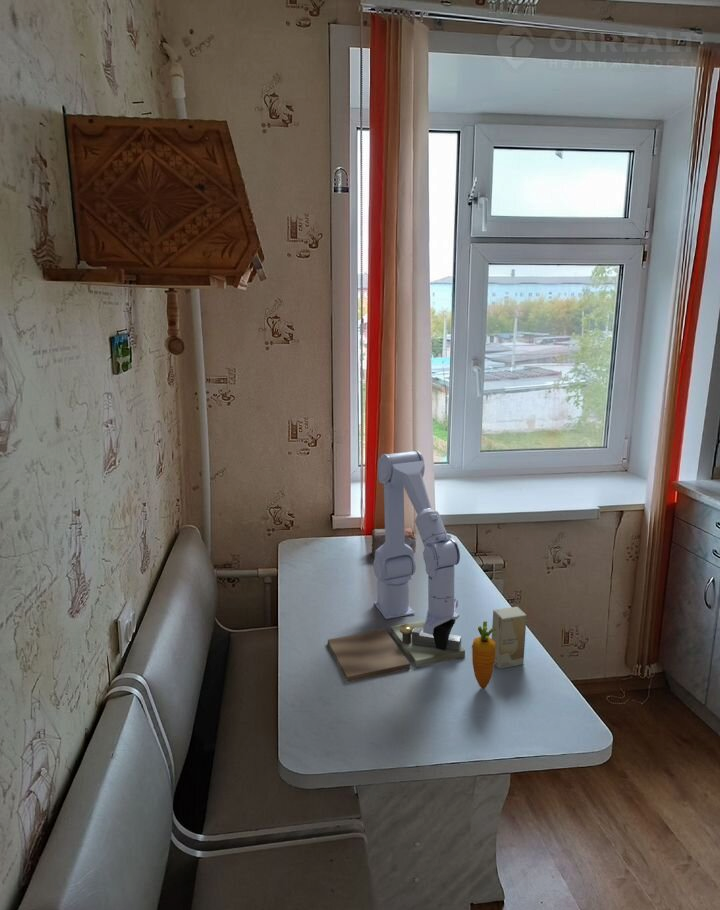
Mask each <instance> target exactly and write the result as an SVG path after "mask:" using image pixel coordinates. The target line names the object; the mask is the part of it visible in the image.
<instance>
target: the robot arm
mask: <svg viewBox="0 0 720 910" xmlns="http://www.w3.org/2000/svg"><path fill="white" fill-rule="evenodd" d="M425 465H426V464H425V459H424V456H423V455H422V453H421V452H420V451H419V450H417V449H416V450H414V449H413V450H411V451H403V452H402V451H401V452H395V453H388V454H387V453H382V454H381V455H380V457H379V458H378V459H377V468H378V469H377V476H378V483H379V484H383V498H384V499H383V502H384V504H383V505H384V529H385V543H384V544H383V545H382V546H380V547H379V548H378V549H377V550H376V551H375V558H374V560H373V571H374V576H375V578H376V579H377V581H376V585H377V586H376V587H377V588H376V589H377V595H376V596H377V600H376V601H373V603H374V605H375V606H376V608H377V609H378V610H379V612H380V613H381V614H382V616H383V617H384V618H385V619H386V620H388V619H394V618H399V617H405V616H411V615H415V610H413V609H412V608H411V606H410V602H409V600H410V598H409V597H410V596H409V592H410V589H409V588H410V587H409V584H410V580H412V576H414V575H415V572H416V570H417V564H416V560H415V553H414V552H413V550H412V548H411V547H410V546H409V545H407V544H405V530H404V528H405V493H406V495H407V497H408V498H409V500H410V503H411V505H412V507H413V508H414V509H413V510H415V511H414V512H415V513H416V517H415V520H414V523H415V525H416V529H417V531H418V533H419V534H418V535H419V536H420V539H421V541H422V543H423V547H424V549H423V551H422V554H423V555H422V556H423V560H424V564H425V572H426V575H428V576H427V577H428V578H427V579H428V584H427V587H428V600H427V601H428V603H427V604H428V608H427V612H426V617H425V620H426V621H425V623H424V624H423V632H424V633H427V634H431V635H432V634H433V637H434V640H435V645H436V648H438V649H441V650H445V649H446V647H447V643H448V639H449V635H450V634H451V631H452V630H453V629H452V628H453V626H454V625H455V624H456V620H458V618H460V613H458V612H456V609H457V608H458V606H459V599H458V598H455V576H456V575H455V570H456V569H455V566H458V565H459V563H460V560H461V551H460V549H459V548H460V547H459V545H458V542H456V540H455V539H453V537H452V536H451V534H448V532H447V530H446V528H445V524H444V523H443V521H442V518H441V515H440V512H439V511H437V510H435V509H434V508H432V505H431V502H430V499H429V495H428V492H427V489H426V485H425V482H424V474H425V470H426V469H425V468H426V467H425Z"/></svg>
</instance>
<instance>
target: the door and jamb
mask: <svg viewBox="0 0 720 910" xmlns="http://www.w3.org/2000/svg"><path fill="white" fill-rule="evenodd" d="M425 621H426V619H422V620H416V621H410V622H406V623H401V624H397V625H391V626H390V633H391V634H392V637H394V639H395V640H396V641H397V643H398V644H399V646H400V647H401V649H402V650H403V651H404V652H405V653H406V656H408V658H409V660H410V661H411V662H412V663H413V665H414V667H416V668H419V667H423V666H428V665H432V664H433V665H434V664H437V663H442V662H448V661H451V660H452V661H453V660H457V659H460V658H465V657H466V650H465V649H464V647H463V646H461V647H460V651H456V650H449V649H445V650H441V649H438V648H436V647H429V646H422V645H416V644H412V634H403V633H401V632H400V626H401V625H403V624H410V625H412V626H413V627H414V628H421V630H422V631H423V624H424V623H425ZM450 635H452V634H451V633H450ZM392 637H391V635H390V634H389V632H388V631H387V630H386V628H383V629H377V630H372V631H367V632H362V633H356V634H350V635H347V636H341V637H335V638H329V639H327V645H328V648H329V650H330V651H331V653H332V655H333V657H334V659H335V661H336V663H337V664H338V667H339V669H340V670H341V672H342V675H343V676H344V678H345V680H346V682H352V681H357V680H362V679H367V678H372V677H376V676H381V675H386V674H389V673H391V674H392V673H395V672H400V671H405V670H409V669H410V668H411V663H410V661H409V660H408V658H407V657H406V656H405V655H404V653H403V652H402V650H401V649H400V647H399V646H398V644H397V643H396V642H395V641H394V640H393V638H392Z"/></svg>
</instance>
